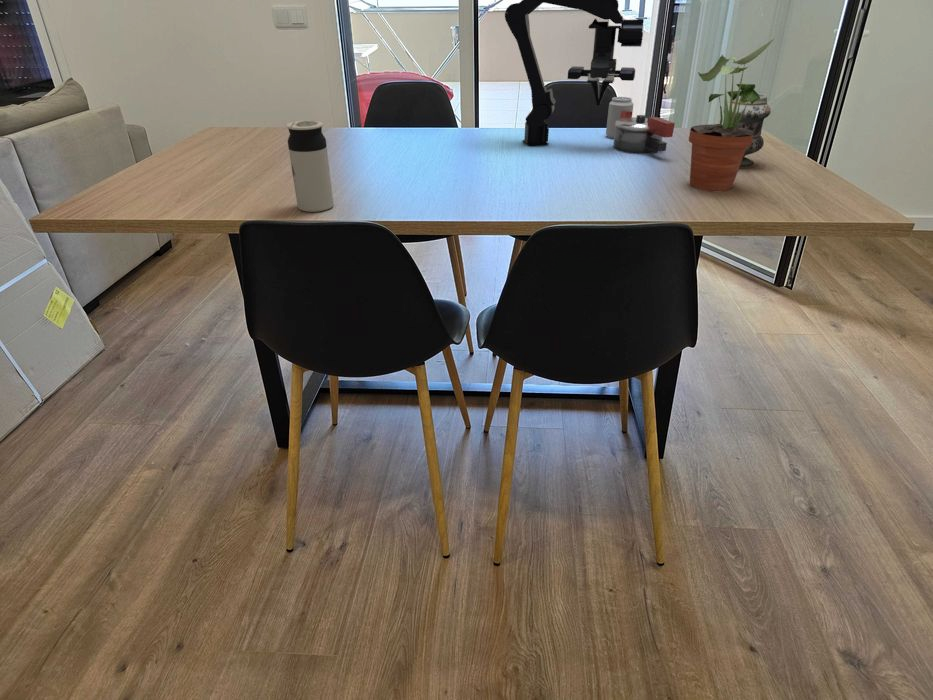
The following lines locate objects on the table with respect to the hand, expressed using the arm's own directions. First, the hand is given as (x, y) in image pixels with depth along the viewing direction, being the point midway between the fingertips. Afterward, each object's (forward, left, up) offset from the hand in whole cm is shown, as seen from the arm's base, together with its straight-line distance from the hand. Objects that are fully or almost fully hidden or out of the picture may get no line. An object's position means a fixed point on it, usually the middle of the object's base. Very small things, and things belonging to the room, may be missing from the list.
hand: (598, 105), depth 178 cm
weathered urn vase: (+30, -28, -12) cm, 43 cm away
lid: (+12, -7, -6) cm, 15 cm away
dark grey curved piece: (+12, -7, -12) cm, 18 cm away
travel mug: (-85, -37, -12) cm, 93 cm away
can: (+13, +10, -12) cm, 21 cm away
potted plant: (+11, -44, -12) cm, 47 cm away
